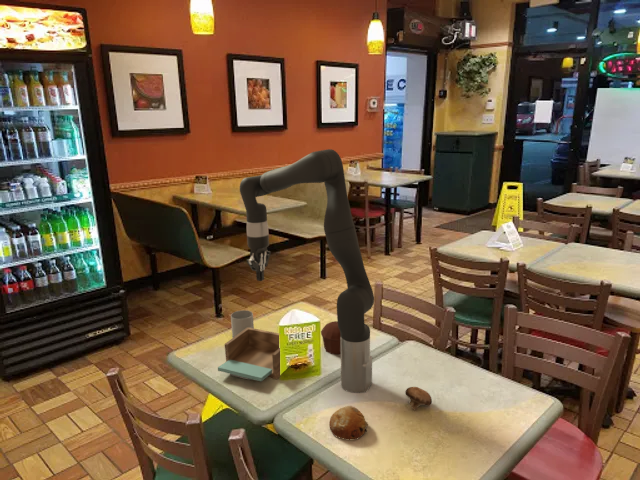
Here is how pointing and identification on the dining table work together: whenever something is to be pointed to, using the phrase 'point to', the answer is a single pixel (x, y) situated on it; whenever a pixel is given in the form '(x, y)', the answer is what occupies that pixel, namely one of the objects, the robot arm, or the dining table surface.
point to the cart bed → (256, 349)
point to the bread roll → (348, 423)
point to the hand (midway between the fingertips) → (260, 280)
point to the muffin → (332, 338)
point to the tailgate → (245, 370)
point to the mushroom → (418, 397)
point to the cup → (241, 321)
